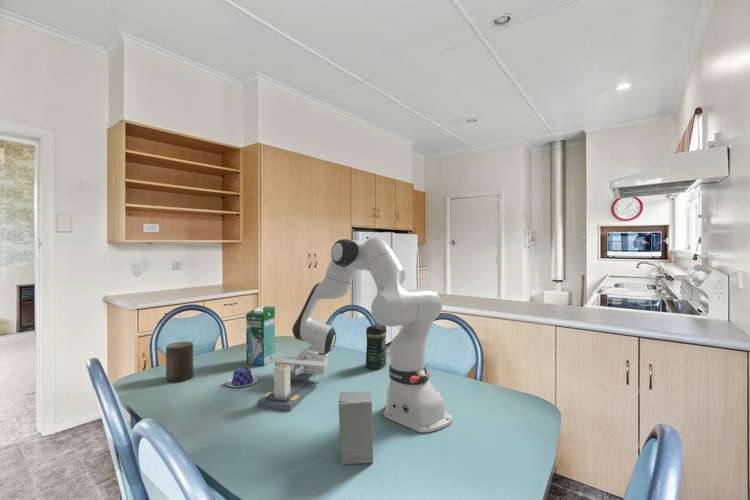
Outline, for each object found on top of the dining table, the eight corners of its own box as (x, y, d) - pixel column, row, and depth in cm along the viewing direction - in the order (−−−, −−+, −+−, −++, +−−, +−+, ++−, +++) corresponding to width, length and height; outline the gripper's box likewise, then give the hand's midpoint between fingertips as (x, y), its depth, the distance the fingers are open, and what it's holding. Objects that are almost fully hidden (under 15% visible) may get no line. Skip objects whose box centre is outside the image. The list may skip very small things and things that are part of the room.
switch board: (286, 384, 138) (286, 377, 138) (315, 387, 136) (315, 379, 136) (257, 406, 119) (257, 398, 119) (290, 410, 116) (290, 402, 116)
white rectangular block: (279, 392, 125) (279, 363, 125) (290, 393, 124) (290, 363, 124) (273, 397, 122) (273, 366, 121) (284, 398, 121) (284, 367, 120)
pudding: (218, 386, 137) (218, 372, 137) (241, 375, 148) (241, 363, 148) (243, 391, 133) (243, 376, 133) (265, 379, 144) (265, 366, 144)
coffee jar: (379, 371, 153) (379, 327, 153) (363, 368, 157) (363, 325, 156) (388, 364, 162) (388, 323, 162) (373, 361, 165) (373, 321, 165)
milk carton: (246, 364, 162) (246, 308, 161) (258, 358, 170) (258, 305, 170) (263, 366, 159) (263, 309, 159) (275, 360, 168) (274, 306, 167)
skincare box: (372, 449, 94) (372, 389, 94) (373, 466, 87) (373, 401, 87) (340, 450, 94) (340, 390, 94) (338, 467, 87) (338, 401, 87)
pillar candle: (192, 380, 142) (192, 342, 142) (163, 384, 138) (163, 345, 138) (194, 372, 151) (194, 337, 151) (168, 375, 147) (168, 339, 147)
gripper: (284, 351, 147) (266, 361, 133) (331, 354, 142) (318, 366, 128) (284, 366, 147) (266, 378, 133) (331, 370, 142) (318, 383, 128)
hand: (292, 372), depth 131 cm, fingers closed
